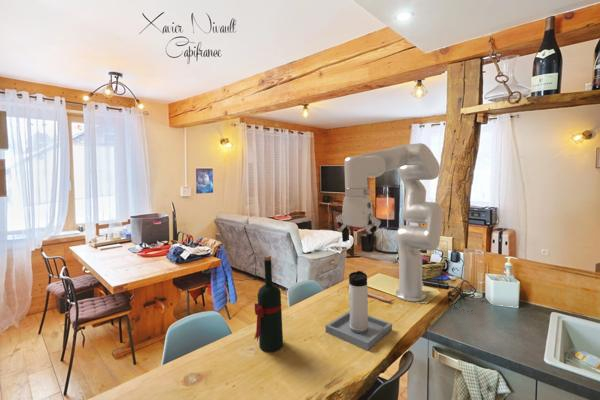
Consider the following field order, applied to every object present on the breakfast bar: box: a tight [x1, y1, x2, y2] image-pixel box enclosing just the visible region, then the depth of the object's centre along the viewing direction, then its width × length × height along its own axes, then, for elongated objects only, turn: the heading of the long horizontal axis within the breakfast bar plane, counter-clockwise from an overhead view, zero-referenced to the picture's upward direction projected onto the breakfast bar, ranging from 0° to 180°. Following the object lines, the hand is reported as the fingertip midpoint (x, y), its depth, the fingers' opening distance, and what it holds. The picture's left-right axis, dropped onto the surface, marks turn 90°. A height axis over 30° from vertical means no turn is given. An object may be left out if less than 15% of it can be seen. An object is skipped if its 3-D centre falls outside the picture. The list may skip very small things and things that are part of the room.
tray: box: [324, 310, 393, 352], centre depth 106 cm, size 16×17×2 cm
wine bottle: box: [253, 254, 284, 353], centre depth 97 cm, size 8×10×30 cm
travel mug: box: [348, 270, 369, 334], centre depth 105 cm, size 6×7×20 cm
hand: (357, 242), depth 103 cm, fingers open, 9 cm apart
